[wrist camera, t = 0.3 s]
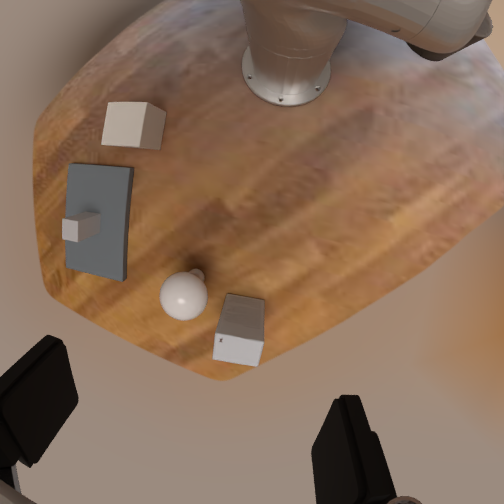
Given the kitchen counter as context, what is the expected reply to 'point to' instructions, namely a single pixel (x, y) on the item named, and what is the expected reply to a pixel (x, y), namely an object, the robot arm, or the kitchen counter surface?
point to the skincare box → (240, 331)
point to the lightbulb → (184, 295)
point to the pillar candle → (481, 33)
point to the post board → (113, 218)
